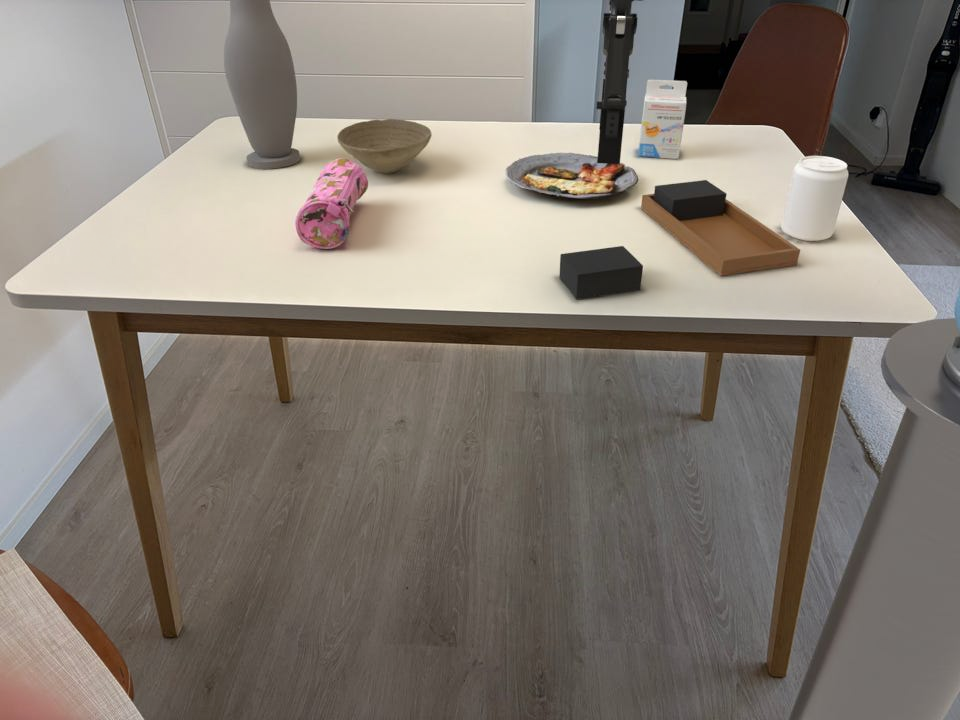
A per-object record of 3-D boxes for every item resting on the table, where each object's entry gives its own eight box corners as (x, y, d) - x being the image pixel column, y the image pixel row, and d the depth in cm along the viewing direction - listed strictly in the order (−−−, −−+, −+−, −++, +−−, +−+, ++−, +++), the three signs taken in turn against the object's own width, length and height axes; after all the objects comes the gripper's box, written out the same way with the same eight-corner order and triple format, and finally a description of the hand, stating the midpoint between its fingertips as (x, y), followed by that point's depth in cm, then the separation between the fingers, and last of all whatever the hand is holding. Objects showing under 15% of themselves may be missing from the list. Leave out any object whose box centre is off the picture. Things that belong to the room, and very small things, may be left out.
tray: (797, 265, 116) (800, 249, 114) (720, 276, 113) (723, 260, 112) (706, 200, 138) (708, 187, 137) (640, 208, 135) (642, 194, 134)
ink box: (637, 157, 159) (645, 84, 151) (638, 149, 163) (646, 79, 155) (679, 159, 157) (689, 86, 149) (678, 152, 161) (688, 80, 153)
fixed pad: (723, 215, 131) (726, 193, 129) (670, 222, 129) (673, 199, 126) (702, 201, 136) (706, 179, 134) (652, 207, 134) (654, 185, 132)
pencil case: (354, 252, 122) (348, 200, 117) (296, 252, 122) (288, 200, 117) (371, 202, 139) (367, 155, 134) (322, 202, 140) (315, 155, 135)
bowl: (415, 190, 144) (412, 149, 140) (326, 182, 148) (321, 142, 144) (444, 159, 159) (442, 121, 154) (363, 153, 163) (359, 116, 159)
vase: (247, 175, 152) (211, -17, 133) (237, 156, 162) (203, -25, 143) (312, 166, 156) (286, -22, 137) (298, 148, 166) (273, -29, 147)
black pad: (640, 290, 110) (643, 265, 107) (576, 299, 108) (577, 274, 105) (620, 269, 115) (623, 245, 113) (559, 278, 113) (560, 253, 111)
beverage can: (774, 223, 129) (789, 154, 122) (822, 223, 129) (840, 154, 122) (788, 243, 122) (805, 171, 116) (839, 243, 122) (858, 171, 115)
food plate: (651, 175, 150) (653, 157, 148) (613, 216, 133) (615, 197, 131) (536, 157, 159) (536, 140, 157) (486, 193, 142) (486, 175, 140)
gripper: (594, -52, 96) (583, 116, 108) (588, -28, 75) (575, 177, 87) (654, -52, 95) (636, 118, 107) (664, -27, 74) (641, 180, 86)
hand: (608, 145), depth 97 cm, fingers open, 13 cm apart
